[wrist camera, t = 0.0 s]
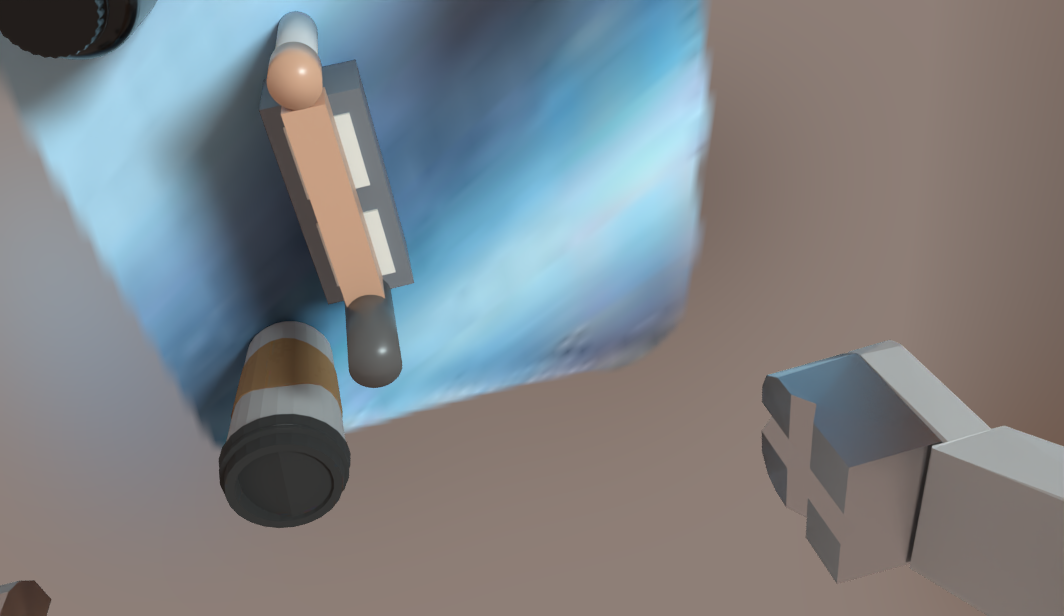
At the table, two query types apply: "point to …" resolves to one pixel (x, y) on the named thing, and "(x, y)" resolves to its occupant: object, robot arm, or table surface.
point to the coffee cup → (286, 430)
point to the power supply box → (360, 156)
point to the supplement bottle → (71, 25)
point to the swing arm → (337, 213)
